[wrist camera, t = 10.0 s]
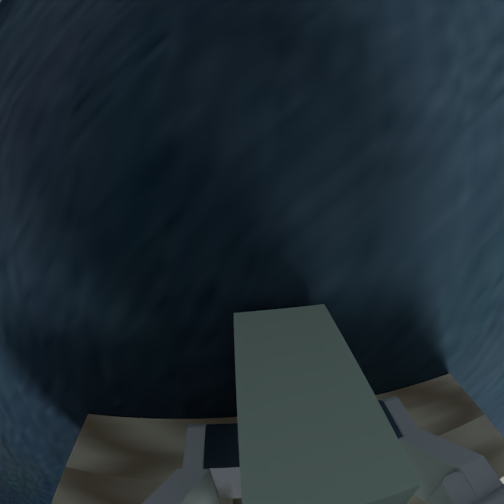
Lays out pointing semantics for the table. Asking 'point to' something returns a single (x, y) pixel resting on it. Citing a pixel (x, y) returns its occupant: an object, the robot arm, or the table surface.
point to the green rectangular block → (311, 416)
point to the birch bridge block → (174, 430)
